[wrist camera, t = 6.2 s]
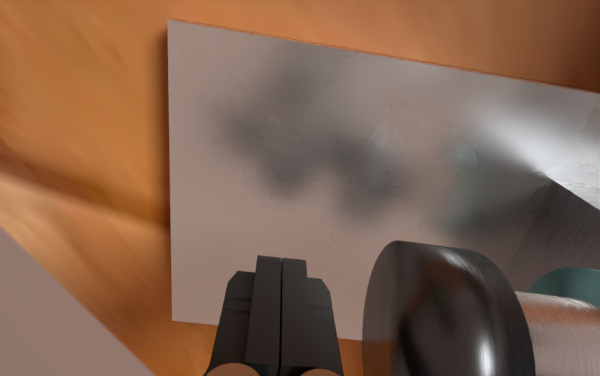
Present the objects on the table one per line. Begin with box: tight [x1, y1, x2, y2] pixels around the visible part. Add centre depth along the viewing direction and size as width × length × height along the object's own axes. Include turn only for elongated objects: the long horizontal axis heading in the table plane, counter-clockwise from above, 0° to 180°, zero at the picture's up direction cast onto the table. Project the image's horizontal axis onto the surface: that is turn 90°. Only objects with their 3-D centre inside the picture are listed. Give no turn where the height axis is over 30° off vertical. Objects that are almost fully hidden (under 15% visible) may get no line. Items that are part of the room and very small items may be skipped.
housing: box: [167, 19, 600, 341], centre depth 11 cm, size 26×13×10 cm, turn 81°
